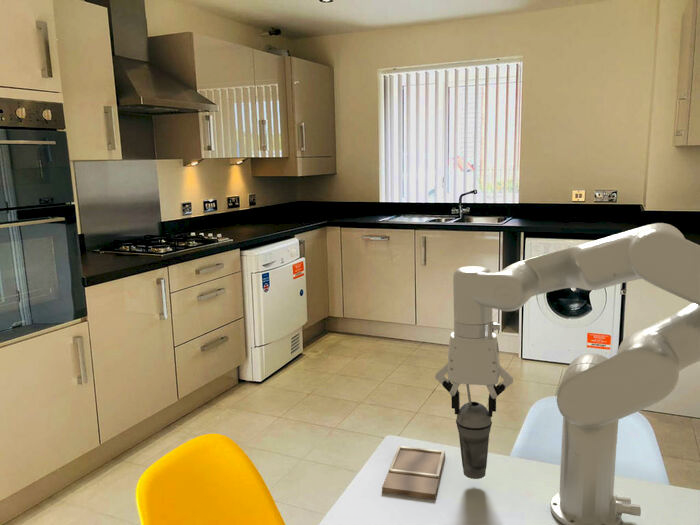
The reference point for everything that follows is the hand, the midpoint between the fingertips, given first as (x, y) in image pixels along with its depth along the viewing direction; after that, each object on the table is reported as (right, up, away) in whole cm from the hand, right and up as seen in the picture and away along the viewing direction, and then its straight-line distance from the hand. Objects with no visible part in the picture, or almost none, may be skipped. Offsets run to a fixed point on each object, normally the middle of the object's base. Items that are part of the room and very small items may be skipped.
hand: (473, 412), depth 120 cm
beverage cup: (+1, -14, +2) cm, 14 cm away
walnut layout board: (-11, -16, +8) cm, 21 cm away
